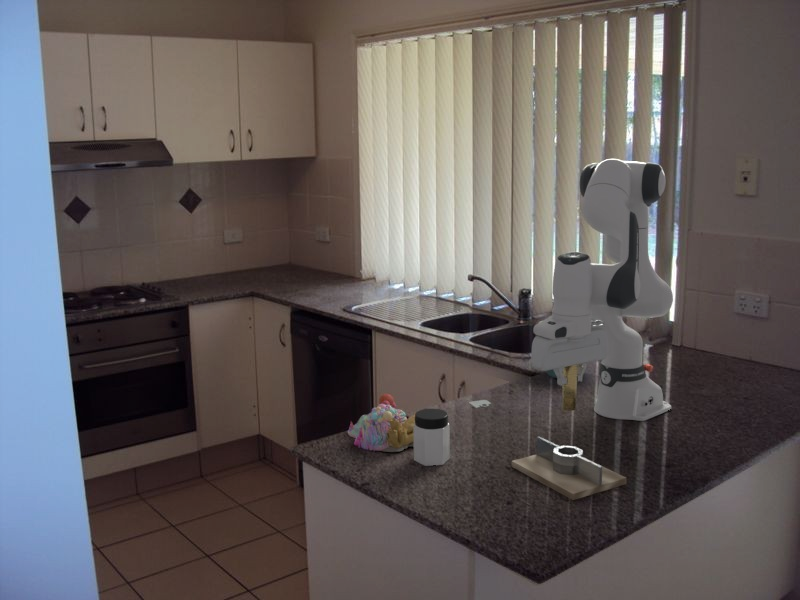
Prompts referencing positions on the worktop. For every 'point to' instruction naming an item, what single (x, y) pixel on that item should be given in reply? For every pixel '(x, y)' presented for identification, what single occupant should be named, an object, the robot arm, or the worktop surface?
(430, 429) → the jar
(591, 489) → the birch board
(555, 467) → the grey metal ringed bar
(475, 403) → the mounting bracket
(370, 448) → the candy landscape model
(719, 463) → the worktop surface
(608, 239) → the robot arm
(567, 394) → the pin
